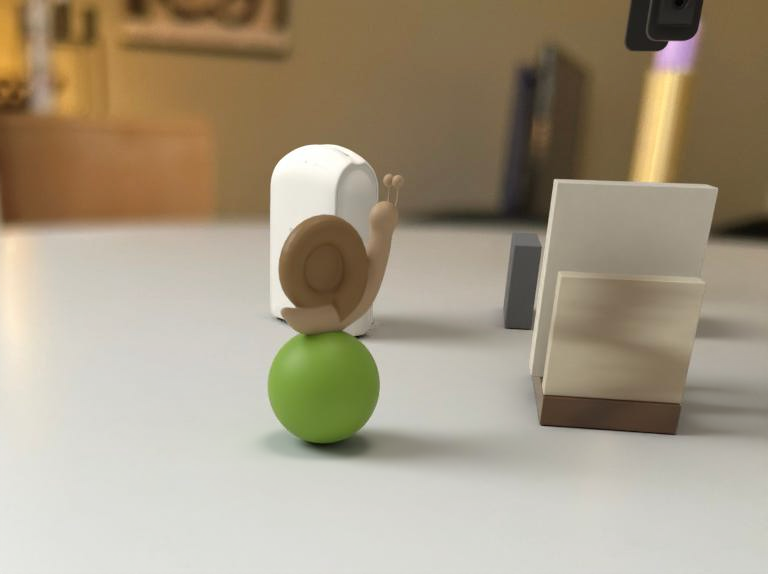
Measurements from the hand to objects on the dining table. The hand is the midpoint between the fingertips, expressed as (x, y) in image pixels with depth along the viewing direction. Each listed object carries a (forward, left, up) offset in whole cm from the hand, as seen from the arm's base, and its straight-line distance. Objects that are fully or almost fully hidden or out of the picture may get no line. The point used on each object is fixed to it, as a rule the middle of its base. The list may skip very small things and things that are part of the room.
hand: (656, 46), depth 49 cm
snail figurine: (+14, +12, -18) cm, 25 cm away
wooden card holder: (0, 0, -18) cm, 18 cm away
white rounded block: (+19, -17, -18) cm, 31 cm away
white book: (0, 0, -16) cm, 16 cm away
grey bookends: (-1, -25, -18) cm, 31 cm away
